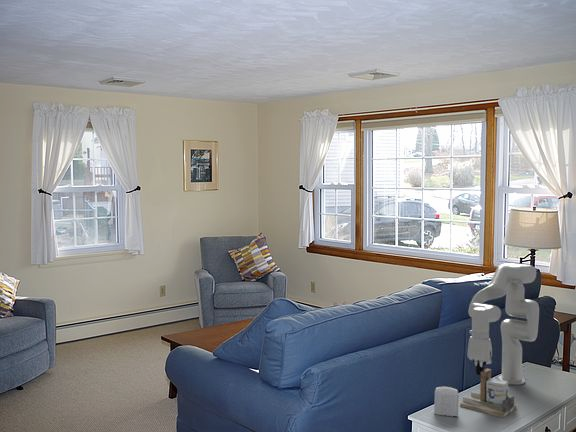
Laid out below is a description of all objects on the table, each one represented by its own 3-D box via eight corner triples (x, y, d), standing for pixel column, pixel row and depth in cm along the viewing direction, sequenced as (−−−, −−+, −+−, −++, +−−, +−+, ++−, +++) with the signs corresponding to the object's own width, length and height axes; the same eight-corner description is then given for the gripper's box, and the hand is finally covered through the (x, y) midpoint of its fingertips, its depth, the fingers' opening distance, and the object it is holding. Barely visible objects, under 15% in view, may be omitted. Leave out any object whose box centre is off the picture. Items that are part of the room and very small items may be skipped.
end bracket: (486, 400, 280) (487, 368, 279) (490, 401, 279) (491, 369, 277) (480, 404, 275) (480, 372, 274) (484, 405, 274) (484, 372, 273)
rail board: (474, 397, 288) (474, 383, 288) (516, 408, 275) (516, 394, 274) (460, 405, 278) (460, 391, 277) (502, 417, 264) (503, 403, 264)
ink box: (508, 406, 273) (508, 380, 272) (505, 410, 269) (505, 384, 268) (488, 402, 278) (489, 377, 277) (485, 406, 273) (486, 380, 272)
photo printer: (458, 414, 269) (458, 386, 268) (458, 417, 265) (458, 390, 264) (434, 411, 272) (434, 384, 271) (433, 415, 268) (434, 387, 267)
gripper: (461, 333, 279) (460, 372, 281) (492, 339, 269) (491, 380, 270) (469, 330, 284) (468, 368, 286) (499, 336, 274) (499, 376, 276)
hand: (479, 374), depth 278 cm, fingers closed
